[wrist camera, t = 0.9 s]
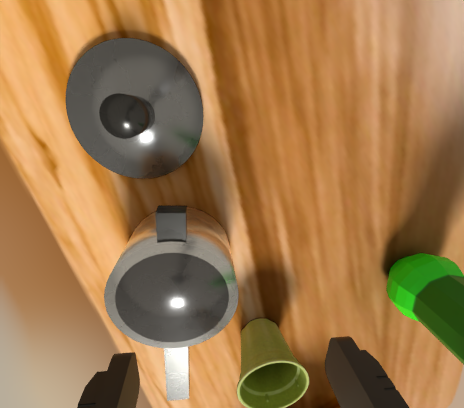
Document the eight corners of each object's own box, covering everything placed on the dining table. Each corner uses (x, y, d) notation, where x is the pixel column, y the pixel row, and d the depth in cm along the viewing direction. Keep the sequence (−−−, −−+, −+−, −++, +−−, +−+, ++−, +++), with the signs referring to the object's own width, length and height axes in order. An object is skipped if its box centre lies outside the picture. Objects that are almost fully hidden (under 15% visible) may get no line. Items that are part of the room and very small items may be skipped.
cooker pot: (122, 183, 29) (89, 215, 21) (232, 185, 31) (244, 215, 22) (139, 341, 38) (121, 408, 30) (224, 336, 40) (231, 398, 31)
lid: (59, 35, 24) (11, 11, 18) (203, 47, 26) (204, 28, 20) (82, 174, 29) (51, 192, 23) (202, 176, 30) (202, 194, 24)
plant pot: (224, 317, 38) (230, 373, 30) (284, 302, 39) (305, 354, 30) (236, 358, 42) (244, 418, 34) (291, 344, 42) (312, 401, 34)
